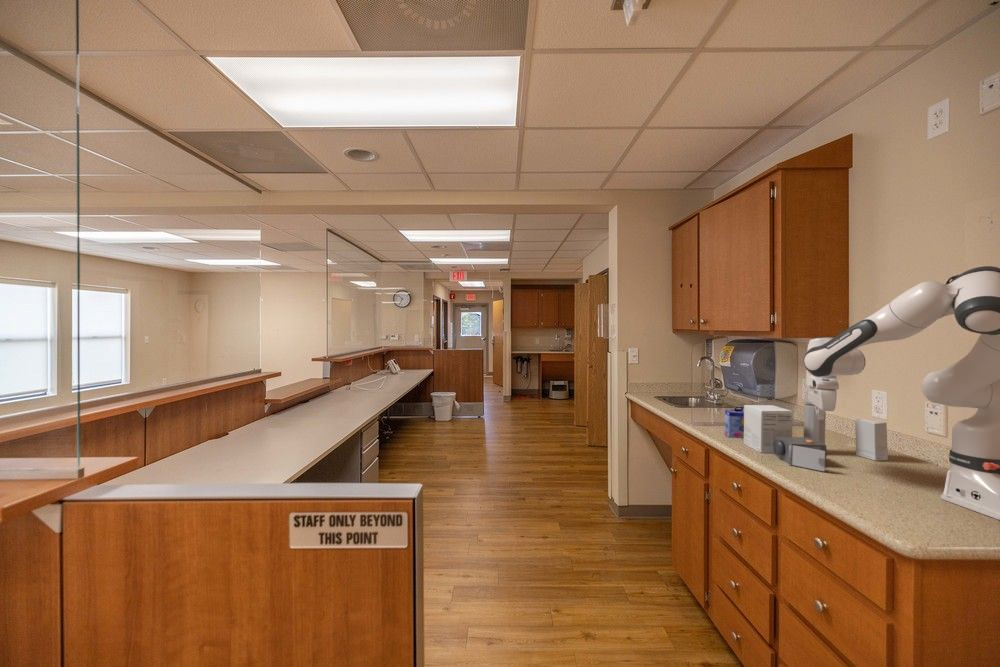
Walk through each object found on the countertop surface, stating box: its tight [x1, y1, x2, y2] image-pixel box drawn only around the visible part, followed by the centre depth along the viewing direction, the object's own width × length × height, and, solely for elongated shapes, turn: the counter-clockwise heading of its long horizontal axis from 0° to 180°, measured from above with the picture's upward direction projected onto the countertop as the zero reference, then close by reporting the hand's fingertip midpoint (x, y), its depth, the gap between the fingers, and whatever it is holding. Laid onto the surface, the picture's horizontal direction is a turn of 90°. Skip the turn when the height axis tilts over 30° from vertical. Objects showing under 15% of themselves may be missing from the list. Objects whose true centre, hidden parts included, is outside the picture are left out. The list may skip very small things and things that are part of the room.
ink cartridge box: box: [724, 406, 744, 439], centre depth 200 cm, size 10×6×14 cm, turn 85°
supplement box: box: [743, 404, 794, 454], centre depth 180 cm, size 13×13×18 cm
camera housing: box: [773, 436, 827, 468], centre depth 164 cm, size 11×14×9 cm
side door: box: [788, 445, 826, 472], centre depth 155 cm, size 1×11×7 cm, turn 44°
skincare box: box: [854, 418, 889, 462], centre depth 169 cm, size 8×6×15 cm
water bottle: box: [802, 390, 827, 445], centre depth 176 cm, size 9×8×25 cm
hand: (819, 418), depth 155 cm, fingers closed
